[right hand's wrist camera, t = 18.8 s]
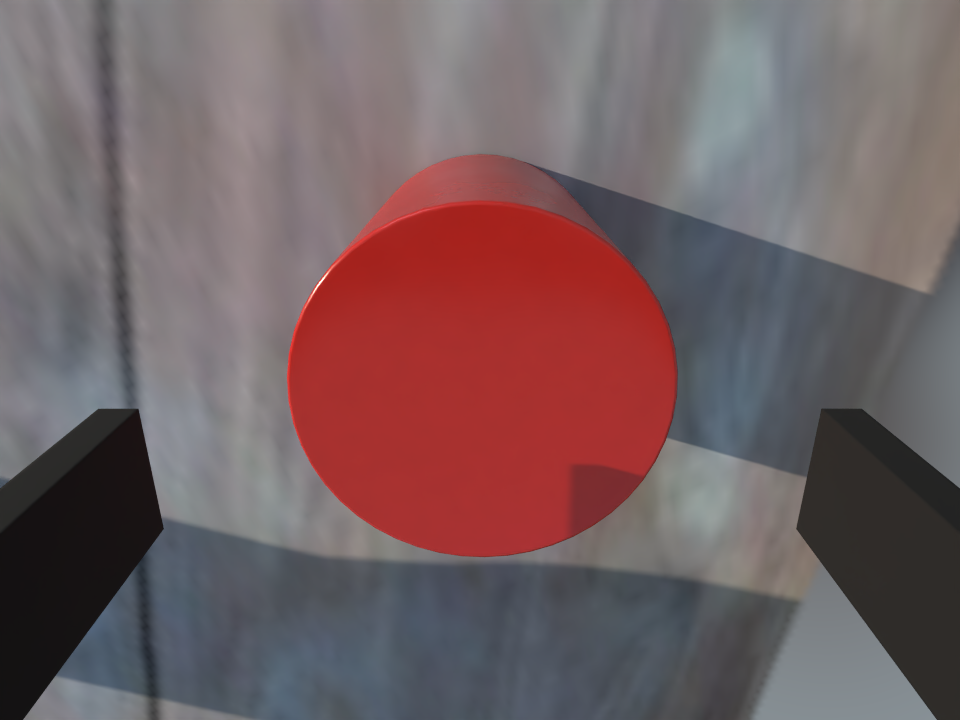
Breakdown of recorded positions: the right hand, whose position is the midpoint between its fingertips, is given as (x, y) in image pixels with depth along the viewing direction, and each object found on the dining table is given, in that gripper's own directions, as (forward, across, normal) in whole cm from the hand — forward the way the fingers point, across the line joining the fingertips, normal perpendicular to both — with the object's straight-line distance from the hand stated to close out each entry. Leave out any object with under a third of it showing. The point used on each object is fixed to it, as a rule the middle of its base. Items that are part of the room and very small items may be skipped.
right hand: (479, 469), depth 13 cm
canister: (+14, 0, 0) cm, 14 cm away
